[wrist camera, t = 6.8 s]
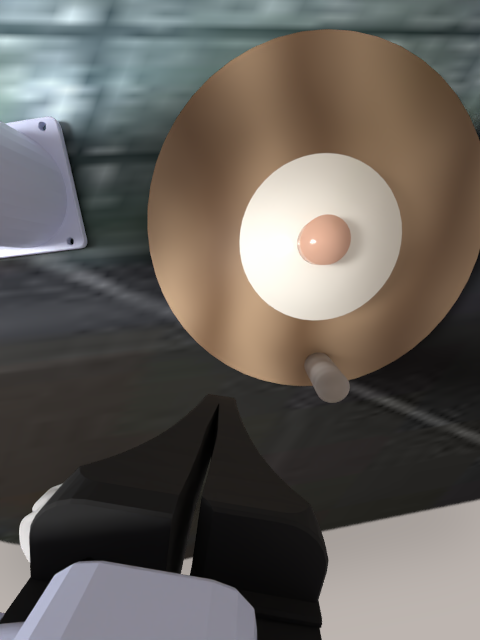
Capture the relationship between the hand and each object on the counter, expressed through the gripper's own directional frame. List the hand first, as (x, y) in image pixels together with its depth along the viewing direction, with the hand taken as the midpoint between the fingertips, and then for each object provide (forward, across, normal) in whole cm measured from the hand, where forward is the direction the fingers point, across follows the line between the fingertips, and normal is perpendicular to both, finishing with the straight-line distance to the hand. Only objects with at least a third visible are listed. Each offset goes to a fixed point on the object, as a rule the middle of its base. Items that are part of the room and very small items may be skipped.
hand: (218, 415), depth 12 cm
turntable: (+8, -4, -9) cm, 13 cm away
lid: (+6, -4, -8) cm, 11 cm away
